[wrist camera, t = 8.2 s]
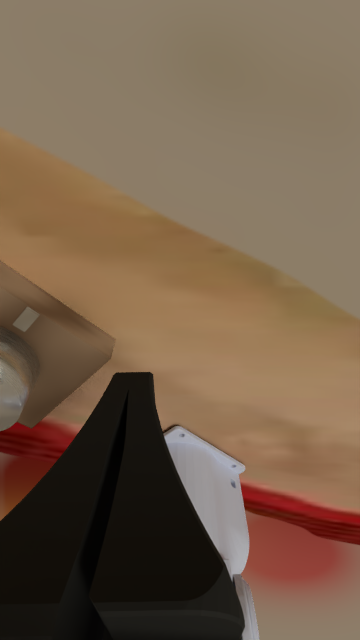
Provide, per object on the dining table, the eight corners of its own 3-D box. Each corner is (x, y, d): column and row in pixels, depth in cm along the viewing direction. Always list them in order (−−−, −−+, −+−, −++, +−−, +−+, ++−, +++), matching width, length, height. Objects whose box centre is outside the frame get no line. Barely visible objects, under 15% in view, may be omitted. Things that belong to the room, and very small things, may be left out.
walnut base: (115, 339, 22) (110, 360, 21) (40, 407, 26) (30, 430, 25) (-41, 232, 18) (-65, 247, 16) (-103, 334, 22) (-128, 356, 20)
